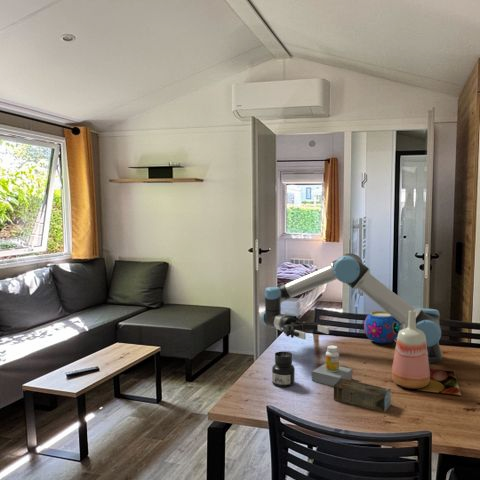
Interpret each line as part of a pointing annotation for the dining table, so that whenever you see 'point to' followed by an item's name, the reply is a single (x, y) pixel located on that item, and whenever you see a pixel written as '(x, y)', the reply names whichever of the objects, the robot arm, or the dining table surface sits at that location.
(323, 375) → the base block
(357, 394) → the beverage carton
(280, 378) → the ink bottle
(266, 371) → the dining table surface
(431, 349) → the robot arm
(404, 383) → the vase
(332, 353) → the supplement bottle
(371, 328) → the ceramic pot
